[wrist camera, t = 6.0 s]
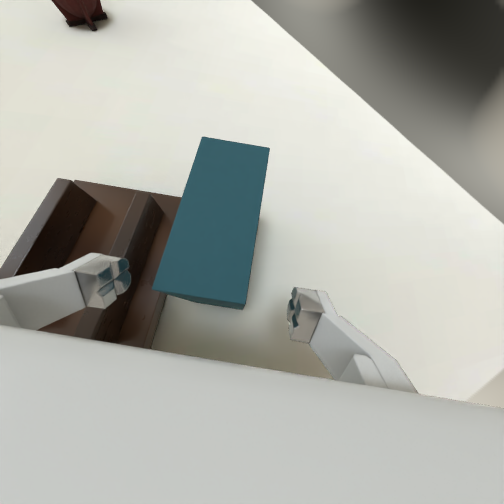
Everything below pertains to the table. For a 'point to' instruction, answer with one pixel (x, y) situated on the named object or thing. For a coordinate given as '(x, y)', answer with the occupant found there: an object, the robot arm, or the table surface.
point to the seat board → (104, 242)
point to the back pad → (215, 226)
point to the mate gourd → (81, 11)
